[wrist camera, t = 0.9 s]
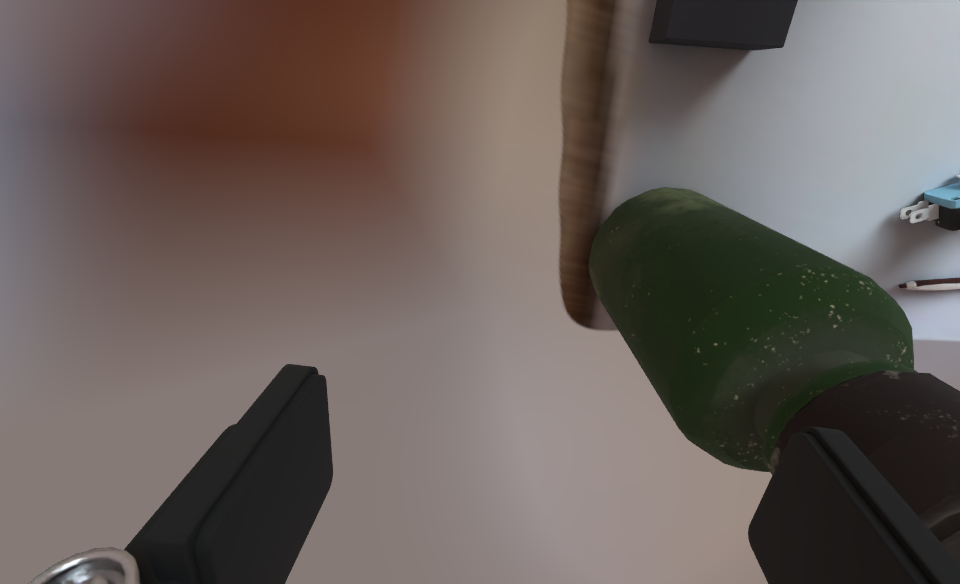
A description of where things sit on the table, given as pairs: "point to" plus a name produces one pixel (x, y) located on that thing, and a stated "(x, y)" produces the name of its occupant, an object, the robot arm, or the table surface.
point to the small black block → (723, 23)
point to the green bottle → (774, 347)
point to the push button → (938, 207)
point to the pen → (932, 284)
